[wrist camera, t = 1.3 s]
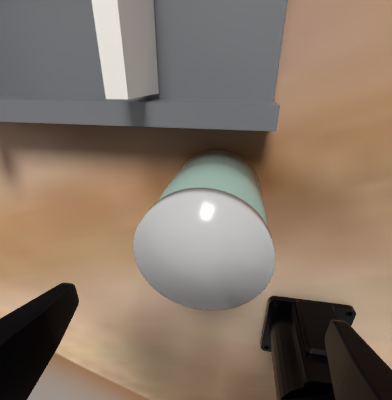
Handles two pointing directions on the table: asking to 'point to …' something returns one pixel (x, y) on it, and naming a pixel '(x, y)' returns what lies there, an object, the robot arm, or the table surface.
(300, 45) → the table surface
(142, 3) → the plate
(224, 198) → the jar
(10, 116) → the pusher lane
